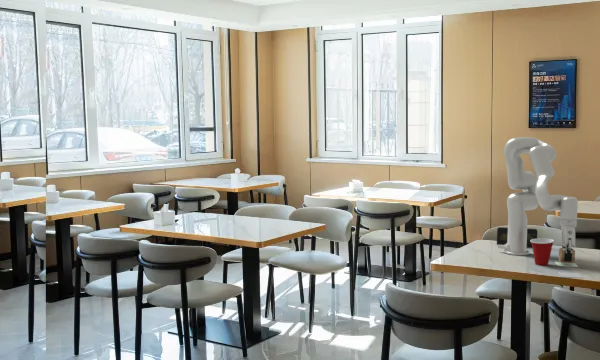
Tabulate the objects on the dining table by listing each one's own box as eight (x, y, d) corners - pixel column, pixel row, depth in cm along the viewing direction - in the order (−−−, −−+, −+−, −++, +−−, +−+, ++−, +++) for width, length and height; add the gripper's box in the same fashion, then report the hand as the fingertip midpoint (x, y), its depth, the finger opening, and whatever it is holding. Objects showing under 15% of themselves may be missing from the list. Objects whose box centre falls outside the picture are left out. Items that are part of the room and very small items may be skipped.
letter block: (574, 263, 309) (575, 250, 309) (561, 262, 310) (561, 249, 310) (572, 260, 315) (572, 248, 315) (558, 260, 316) (559, 247, 316)
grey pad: (561, 277, 286) (561, 276, 286) (557, 272, 295) (557, 272, 295) (583, 278, 285) (583, 277, 285) (578, 273, 294) (578, 273, 293)
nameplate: (536, 246, 358) (537, 228, 358) (536, 247, 357) (537, 229, 356) (496, 245, 363) (497, 227, 362) (496, 245, 361) (497, 227, 360)
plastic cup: (525, 262, 317) (526, 237, 316) (546, 261, 318) (547, 237, 317) (535, 267, 306) (536, 241, 305) (557, 266, 307) (558, 241, 306)
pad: (558, 265, 309) (558, 265, 309) (554, 262, 318) (554, 261, 318) (578, 266, 308) (578, 266, 308) (574, 262, 316) (574, 262, 316)
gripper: (580, 225, 302) (578, 264, 304) (572, 220, 319) (570, 256, 320) (563, 225, 303) (561, 263, 305) (556, 219, 320) (554, 255, 322)
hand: (566, 259), depth 313 cm, fingers open, 6 cm apart
